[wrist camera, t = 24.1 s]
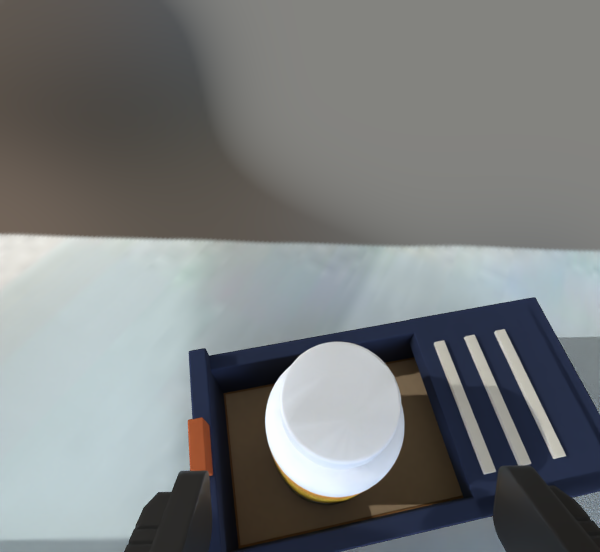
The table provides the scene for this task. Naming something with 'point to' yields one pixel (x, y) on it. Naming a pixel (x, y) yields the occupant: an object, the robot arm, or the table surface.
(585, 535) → the robot arm
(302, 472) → the supplement bottle
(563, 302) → the table surface
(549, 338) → the navy storage tray
